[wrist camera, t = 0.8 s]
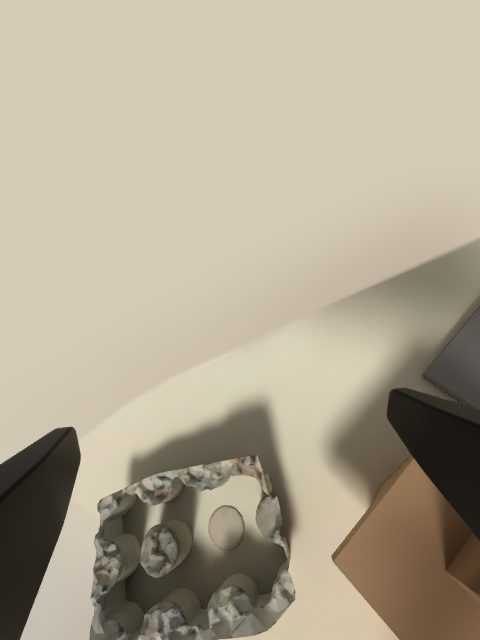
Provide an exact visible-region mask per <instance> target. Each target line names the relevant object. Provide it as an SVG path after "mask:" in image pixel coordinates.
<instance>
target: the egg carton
mask: <svg viewBox="0 0 480 640" xmlns="http://www.w3.org/2000/svg"><path fill="white" fill-rule="evenodd" d="M234 475H248V476H252V477H255V478H256V479H257V480H258V481H259V483H260V484H261V487H262V489H263V491H264V492H265V493H266V494H267V495H266V496H265V497H264V498H263V499H262V500H261V501H260V503H259V505H258V507H257V510H256V523H257V526H258V529H259V531H260V533H261V534H262V536H263V537H264V538H265V539H266V540H268V541H270V542H271V543H277V544H279V545H281V546H282V547H284V550H285V554H286V558H287V560H286V561H285V562H284V563H283V564H282V565H281V567H280V568H279V571H278V574H277V577H276V579H275V582H274V585H273V588H272V592H271V593H267V594H260V593H259V590H258V588H257V585H256V584H255V582H254V581H253V580H252V579H251V578H250V577H249V576H247V575H245V574H242V573H235V574H232V575H231V576H229V577H228V578H227V579H226V580H225V581H224V582H223V584H222V585H221V586H220V587H219V589H218V590H217V591H216V592H214V593H213V595H212V597H211V599H210V601H209V603H208V606H207V609H202V608H201V605H200V602H199V600H198V598H197V596H196V595H195V593H194V592H193V591H192V590H190V589H188V588H178V589H175V590H173V591H172V592H171V593H170V594H169V595H168V596H167V597H166V598H164V599H163V600H162V601H161V602H159V603H157V604H155V605H154V606H152V607H151V608H150V609H149V610H148V612H147V613H146V614H145V616H144V614H143V611H142V610H141V608H140V606H139V605H137V604H136V603H134V602H132V601H126V597H125V595H126V591H125V583H126V580H127V578H128V577H129V576H130V575H132V574H133V573H134V571H135V570H136V569H137V567H138V565H139V563H141V565H142V566H143V568H144V569H145V571H146V573H147V574H148V575H150V576H152V577H154V578H158V577H161V576H163V575H166V574H167V573H169V572H170V571H171V570H173V569H174V568H176V567H177V566H178V565H180V564H181V563H182V562H183V561H184V560H185V559H186V557H187V556H188V554H189V552H190V550H191V548H192V534H191V531H190V529H189V527H188V525H187V524H186V523H184V522H183V521H180V520H170V521H167V522H165V523H162V524H159V525H156V526H154V527H152V528H151V529H150V530H149V531H148V533H147V535H146V536H145V538H144V540H143V543H142V549H141V545H140V542H139V541H138V539H137V538H136V537H135V536H134V535H133V534H130V533H124V532H123V515H124V514H125V513H127V512H128V511H129V510H131V508H132V507H133V506H134V505H135V502H136V500H137V495H138V496H139V498H140V500H141V501H142V502H145V503H147V504H150V505H153V506H155V505H157V504H160V503H165V502H169V501H171V500H173V499H175V498H176V497H177V496H178V495H179V494H180V493H181V491H182V488H183V486H184V484H185V485H186V486H192V487H195V488H196V489H197V490H200V491H204V490H206V489H209V490H212V489H214V488H218V487H220V486H222V485H223V484H225V483H226V482H227V481H228V479H229V478H230V476H234ZM271 492H273V487H272V483H271V478H270V475H269V474H263V470H262V467H261V464H260V460H259V457H258V456H257V455H256V456H255V457H254V456H244V457H241V458H236V459H230V460H225V461H220V462H215V463H210V464H203V465H198V466H193V467H188V468H183V469H179V470H172V471H167V472H163V473H158V474H154V475H152V476H150V477H147V478H145V479H143V480H141V481H138V482H136V483H135V484H133V485H131V486H128V487H126V488H124V489H122V490H120V491H118V492H116V493H114V494H111V495H109V496H107V497H105V498H103V499H101V500H100V501H99V503H98V512H99V513H100V515H101V517H100V528H99V532H98V533H97V534H96V536H95V540H94V543H95V547H96V561H95V564H94V568H93V572H94V581H93V588H92V594H91V598H90V599H91V601H92V603H93V606H94V616H93V620H92V624H91V630H90V640H218V639H228V638H238V637H246V636H254V635H257V634H260V633H262V632H265V631H267V630H268V629H269V628H271V627H272V626H273V625H274V624H275V623H276V622H277V621H278V619H279V618H280V617H281V616H282V614H283V613H284V612H285V611H286V609H287V608H288V607H289V606H290V604H291V603H292V602H293V601H294V600H295V588H294V584H293V582H292V579H291V576H290V574H289V572H288V568H289V563H290V553H289V549H288V545H287V540H286V538H285V537H280V527H281V526H282V525H283V522H282V516H281V511H280V506H279V501H278V498H277V496H276V497H275V498H274V497H272V496H271ZM208 529H209V535H210V538H211V540H212V542H213V543H214V545H215V546H217V547H218V548H220V549H224V550H232V549H234V548H235V547H237V546H238V545H239V543H240V542H241V540H242V538H243V535H244V531H245V526H244V520H243V518H242V516H241V515H240V513H239V512H238V510H237V509H235V508H233V507H231V506H222V507H221V508H218V509H216V510H215V512H214V513H213V514H212V516H211V518H210V521H209V526H208Z"/></svg>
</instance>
